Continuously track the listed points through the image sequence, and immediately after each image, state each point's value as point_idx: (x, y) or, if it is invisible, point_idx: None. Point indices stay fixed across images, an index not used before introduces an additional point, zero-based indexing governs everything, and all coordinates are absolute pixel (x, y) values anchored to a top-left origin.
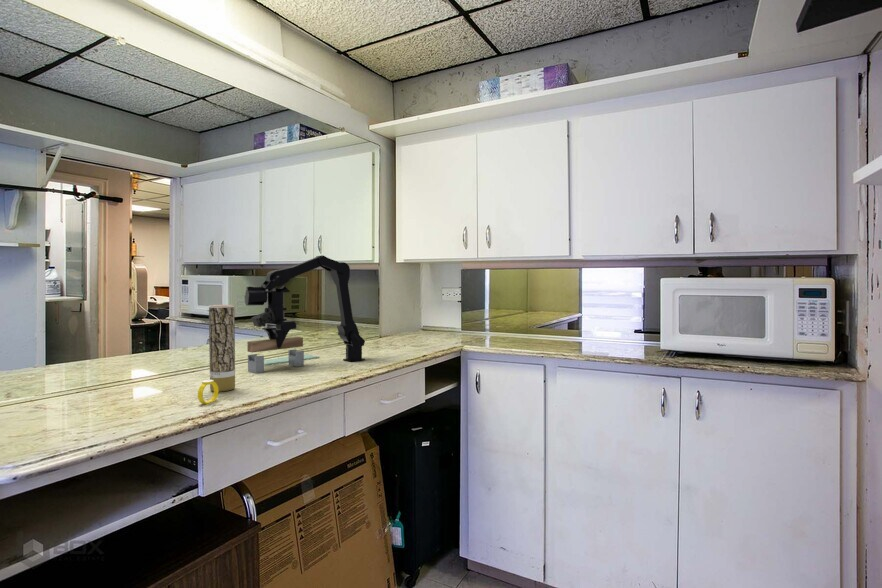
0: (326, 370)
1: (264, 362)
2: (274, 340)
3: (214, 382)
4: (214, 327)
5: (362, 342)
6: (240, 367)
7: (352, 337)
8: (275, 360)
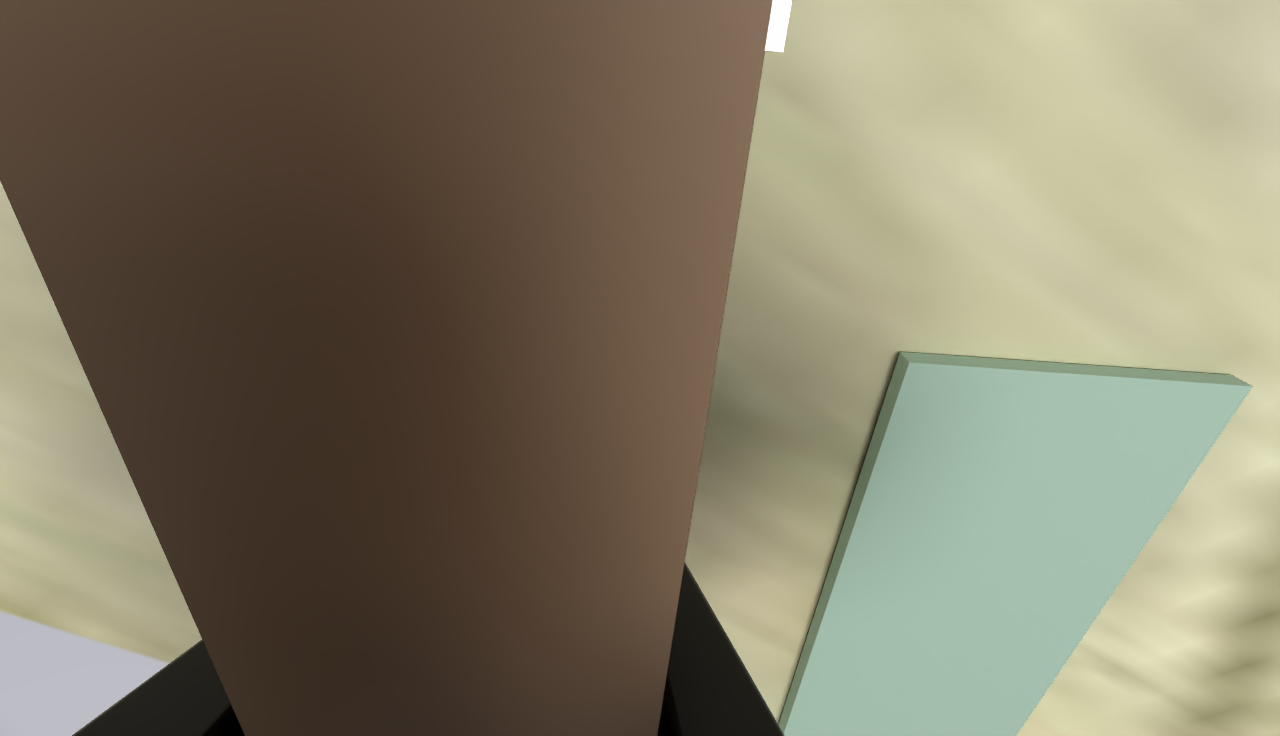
0: (69, 568)
1: (1022, 425)
2: (225, 672)
3: None
4: None
5: None
6: (1193, 18)
7: None
8: (990, 565)
